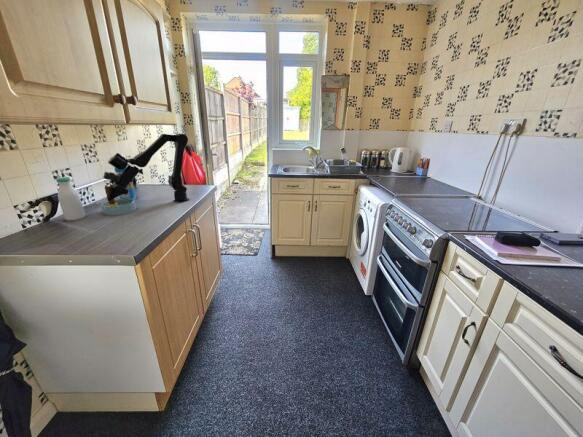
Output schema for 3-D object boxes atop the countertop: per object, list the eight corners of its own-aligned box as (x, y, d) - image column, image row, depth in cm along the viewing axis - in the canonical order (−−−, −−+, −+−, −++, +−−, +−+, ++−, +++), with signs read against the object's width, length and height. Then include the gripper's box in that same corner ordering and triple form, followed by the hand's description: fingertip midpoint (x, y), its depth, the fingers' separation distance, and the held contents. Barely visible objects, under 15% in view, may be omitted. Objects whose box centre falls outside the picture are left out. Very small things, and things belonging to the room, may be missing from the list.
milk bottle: (89, 217, 122) (77, 177, 115) (70, 222, 115) (57, 180, 108) (80, 214, 125) (68, 175, 118) (62, 219, 118) (47, 178, 111)
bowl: (124, 205, 139) (122, 197, 138) (142, 209, 134) (140, 200, 132) (97, 213, 127) (94, 204, 125) (115, 217, 121) (113, 208, 120)
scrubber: (115, 209, 132) (109, 185, 127) (120, 210, 130) (115, 186, 126) (107, 211, 128) (100, 187, 123) (112, 212, 126) (106, 188, 122)
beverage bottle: (121, 201, 146) (113, 168, 139) (119, 198, 152) (111, 166, 145) (137, 199, 151) (130, 166, 144) (134, 196, 157) (128, 165, 150)
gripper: (109, 163, 130) (89, 186, 127) (114, 168, 117) (92, 194, 114) (130, 176, 138) (111, 198, 135) (137, 182, 124) (116, 207, 122)
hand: (107, 199), depth 126 cm, fingers closed on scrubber, 3 cm apart
